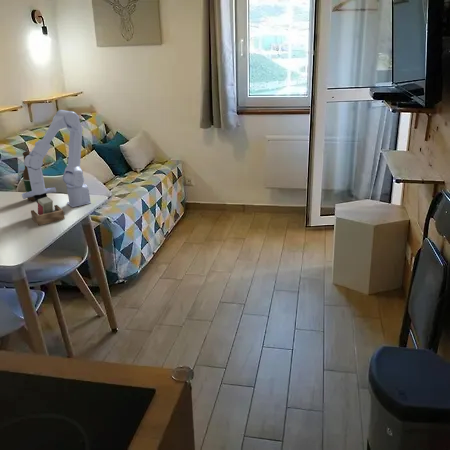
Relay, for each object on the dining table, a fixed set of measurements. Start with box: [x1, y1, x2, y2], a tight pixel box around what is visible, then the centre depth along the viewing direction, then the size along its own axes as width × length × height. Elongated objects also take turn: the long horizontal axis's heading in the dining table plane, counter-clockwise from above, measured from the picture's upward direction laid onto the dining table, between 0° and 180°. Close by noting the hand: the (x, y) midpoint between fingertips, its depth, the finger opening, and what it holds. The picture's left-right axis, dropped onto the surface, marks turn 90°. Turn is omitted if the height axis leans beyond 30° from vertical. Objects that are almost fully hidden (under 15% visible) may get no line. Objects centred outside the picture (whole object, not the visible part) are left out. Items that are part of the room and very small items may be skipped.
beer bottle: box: [21, 150, 36, 202], centre depth 236 cm, size 8×8×24 cm
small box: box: [37, 196, 54, 215], centre depth 215 cm, size 5×4×8 cm
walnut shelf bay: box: [30, 204, 66, 226], centre depth 213 cm, size 12×10×4 cm
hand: (42, 210), depth 219 cm, fingers closed
